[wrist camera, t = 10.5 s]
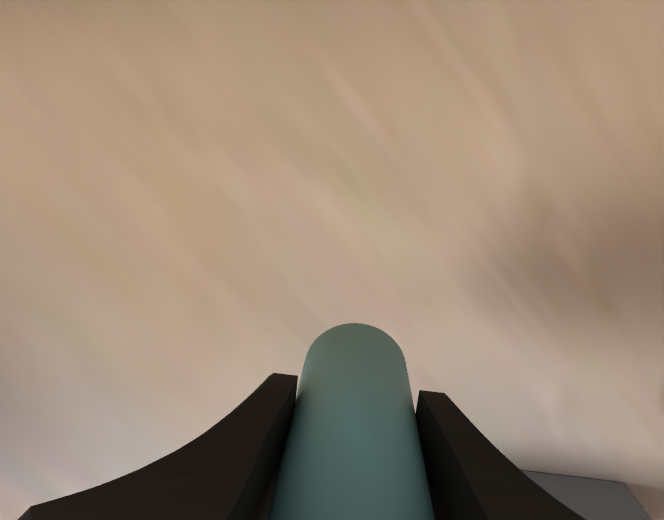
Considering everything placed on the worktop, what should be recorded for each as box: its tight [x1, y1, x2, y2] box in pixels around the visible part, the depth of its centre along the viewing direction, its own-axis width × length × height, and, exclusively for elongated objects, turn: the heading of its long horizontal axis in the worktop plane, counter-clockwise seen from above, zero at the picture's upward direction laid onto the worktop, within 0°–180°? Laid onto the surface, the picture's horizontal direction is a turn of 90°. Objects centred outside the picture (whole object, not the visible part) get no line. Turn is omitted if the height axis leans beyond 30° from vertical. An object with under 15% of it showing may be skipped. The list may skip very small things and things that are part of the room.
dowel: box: [267, 323, 435, 520], centre depth 10 cm, size 3×3×8 cm
